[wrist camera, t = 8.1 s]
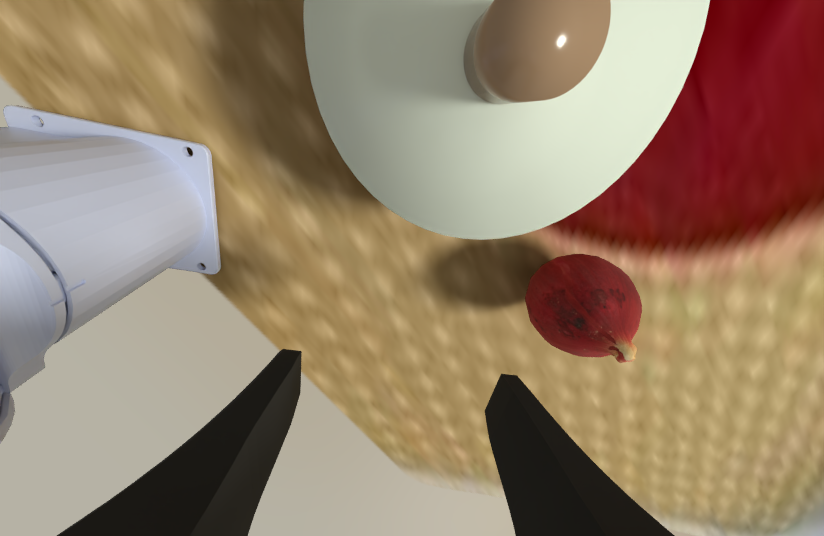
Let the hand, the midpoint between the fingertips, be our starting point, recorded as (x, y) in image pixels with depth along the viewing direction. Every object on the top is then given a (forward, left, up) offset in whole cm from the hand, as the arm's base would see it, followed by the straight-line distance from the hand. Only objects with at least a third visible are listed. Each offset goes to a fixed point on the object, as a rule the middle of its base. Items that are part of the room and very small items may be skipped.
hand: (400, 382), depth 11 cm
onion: (+11, +1, -11) cm, 15 cm away
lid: (+2, +11, -6) cm, 13 cm away
